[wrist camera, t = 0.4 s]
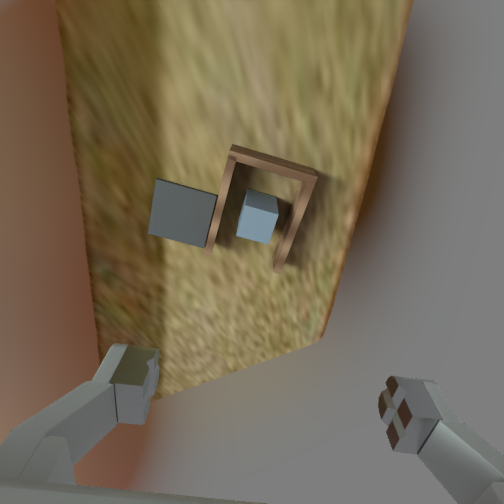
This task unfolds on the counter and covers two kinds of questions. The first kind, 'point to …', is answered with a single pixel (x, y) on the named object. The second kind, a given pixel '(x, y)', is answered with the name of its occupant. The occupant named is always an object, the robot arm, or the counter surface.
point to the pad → (181, 213)
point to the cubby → (275, 166)
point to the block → (257, 216)
